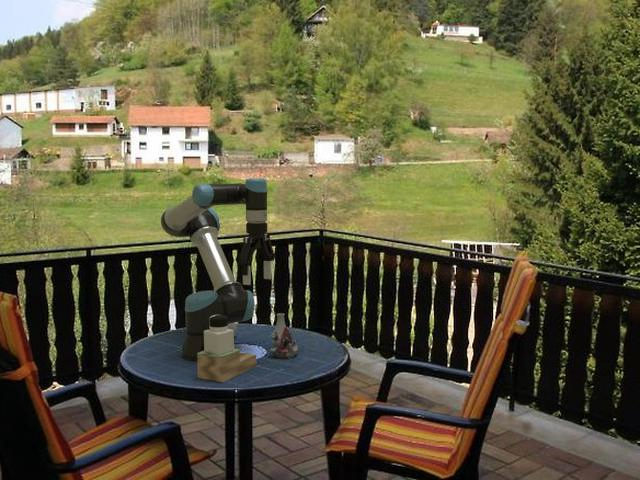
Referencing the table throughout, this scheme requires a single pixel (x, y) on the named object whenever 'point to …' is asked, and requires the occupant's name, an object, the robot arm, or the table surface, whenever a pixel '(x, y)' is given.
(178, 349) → the table surface
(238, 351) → the stepped stand
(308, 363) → the table surface
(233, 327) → the perfume bottle
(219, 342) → the medicine bottle
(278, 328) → the flask
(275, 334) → the red grey figurine
